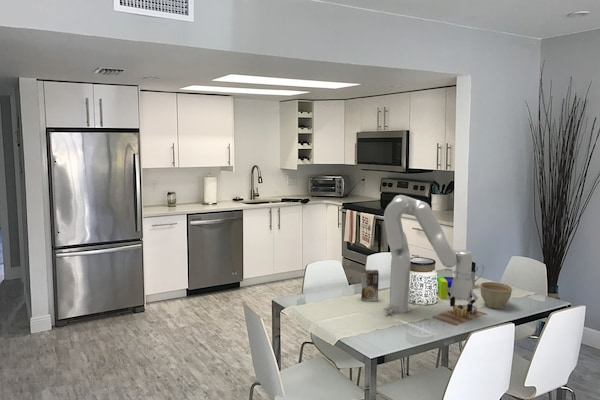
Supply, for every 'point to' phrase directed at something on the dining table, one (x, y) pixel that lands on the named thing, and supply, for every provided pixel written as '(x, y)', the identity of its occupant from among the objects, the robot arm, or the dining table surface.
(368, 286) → the coffee box
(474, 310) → the steel gear
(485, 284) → the planter bowl
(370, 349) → the dining table surface
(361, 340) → the dining table surface
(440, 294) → the puzzle toy
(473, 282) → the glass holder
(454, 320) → the gear board
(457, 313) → the brass gear
